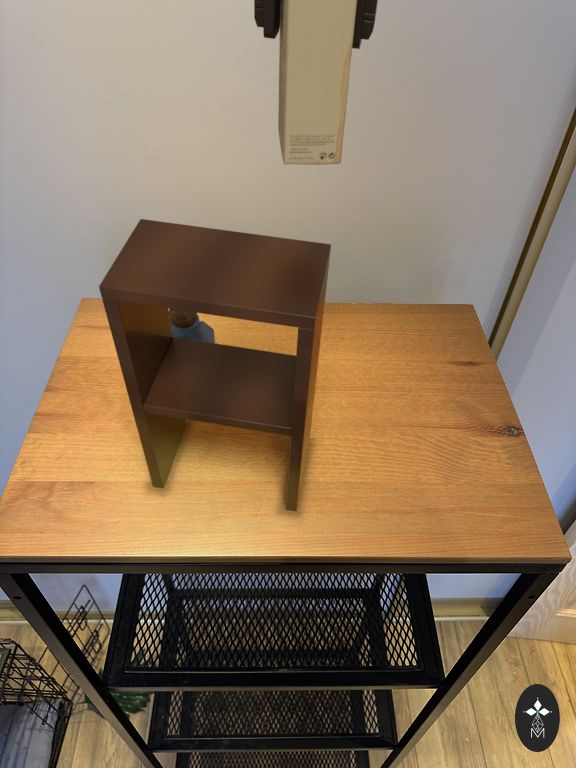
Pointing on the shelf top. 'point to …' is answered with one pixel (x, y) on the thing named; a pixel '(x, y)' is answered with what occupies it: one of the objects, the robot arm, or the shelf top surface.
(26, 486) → the shelf top surface
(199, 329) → the perfume bottle
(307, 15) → the cosmetic box
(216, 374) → the walnut shelf
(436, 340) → the shelf top surface
